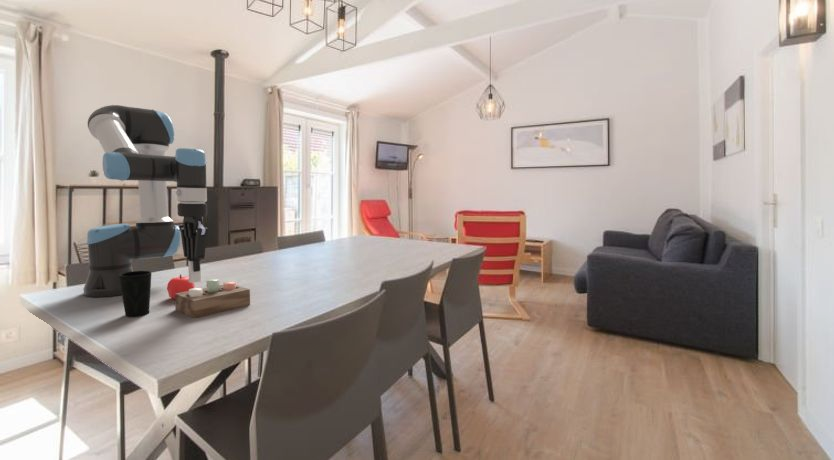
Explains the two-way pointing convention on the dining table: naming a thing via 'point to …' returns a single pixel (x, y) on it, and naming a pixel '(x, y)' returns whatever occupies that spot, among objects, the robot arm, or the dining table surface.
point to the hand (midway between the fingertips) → (194, 281)
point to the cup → (136, 292)
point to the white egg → (195, 292)
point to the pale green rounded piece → (213, 286)
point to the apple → (179, 286)
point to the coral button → (229, 286)
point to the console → (212, 301)
